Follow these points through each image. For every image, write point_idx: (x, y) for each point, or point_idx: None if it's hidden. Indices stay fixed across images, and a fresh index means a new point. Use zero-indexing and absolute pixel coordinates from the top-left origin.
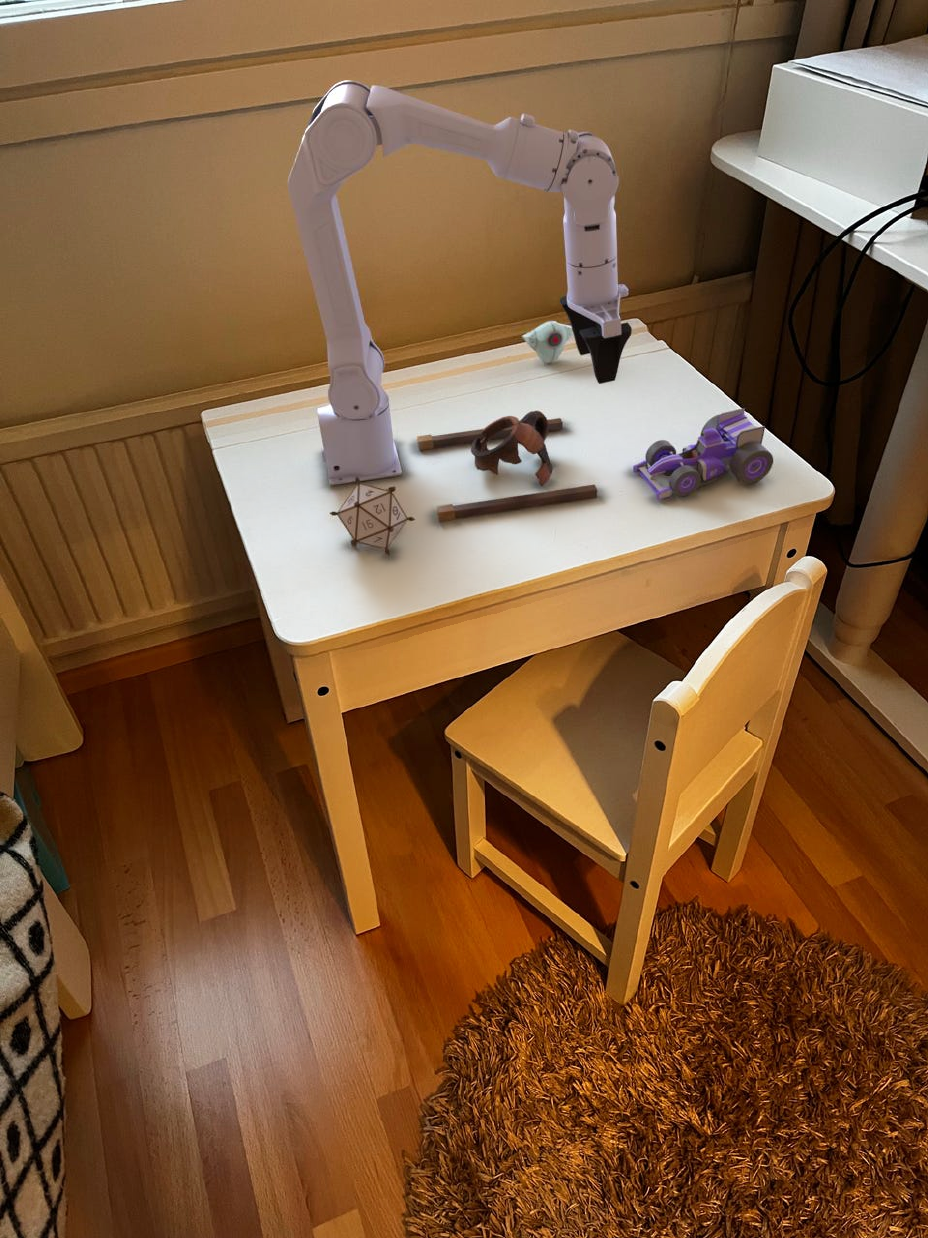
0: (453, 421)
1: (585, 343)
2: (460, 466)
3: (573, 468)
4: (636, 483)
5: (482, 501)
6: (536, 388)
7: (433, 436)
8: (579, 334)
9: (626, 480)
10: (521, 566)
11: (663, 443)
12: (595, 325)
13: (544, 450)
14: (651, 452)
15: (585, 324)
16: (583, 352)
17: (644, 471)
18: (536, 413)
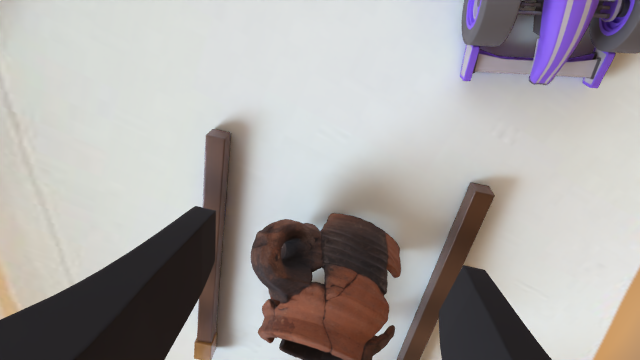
0: None
1: (194, 279)
2: None
3: (374, 177)
4: (498, 89)
5: (406, 352)
6: (47, 104)
7: (199, 339)
8: (170, 338)
9: (474, 103)
10: (564, 352)
11: (506, 1)
12: (145, 304)
13: (374, 273)
14: (494, 42)
15: (139, 357)
16: (211, 260)
17: (497, 66)
18: (277, 274)
